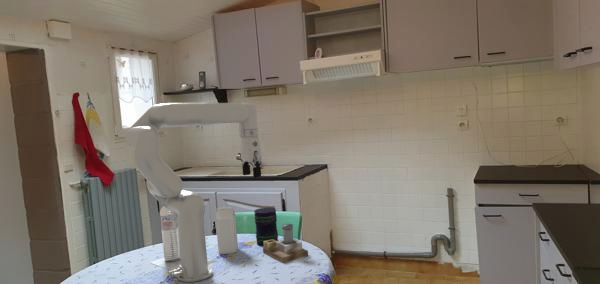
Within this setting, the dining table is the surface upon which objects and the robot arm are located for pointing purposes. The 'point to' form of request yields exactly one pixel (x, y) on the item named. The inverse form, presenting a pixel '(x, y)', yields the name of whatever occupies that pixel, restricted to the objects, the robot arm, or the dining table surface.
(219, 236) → the milk carton
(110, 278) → the dining table surface
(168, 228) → the water bottle
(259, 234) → the storage jar
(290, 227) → the cylinder
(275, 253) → the manifold board
